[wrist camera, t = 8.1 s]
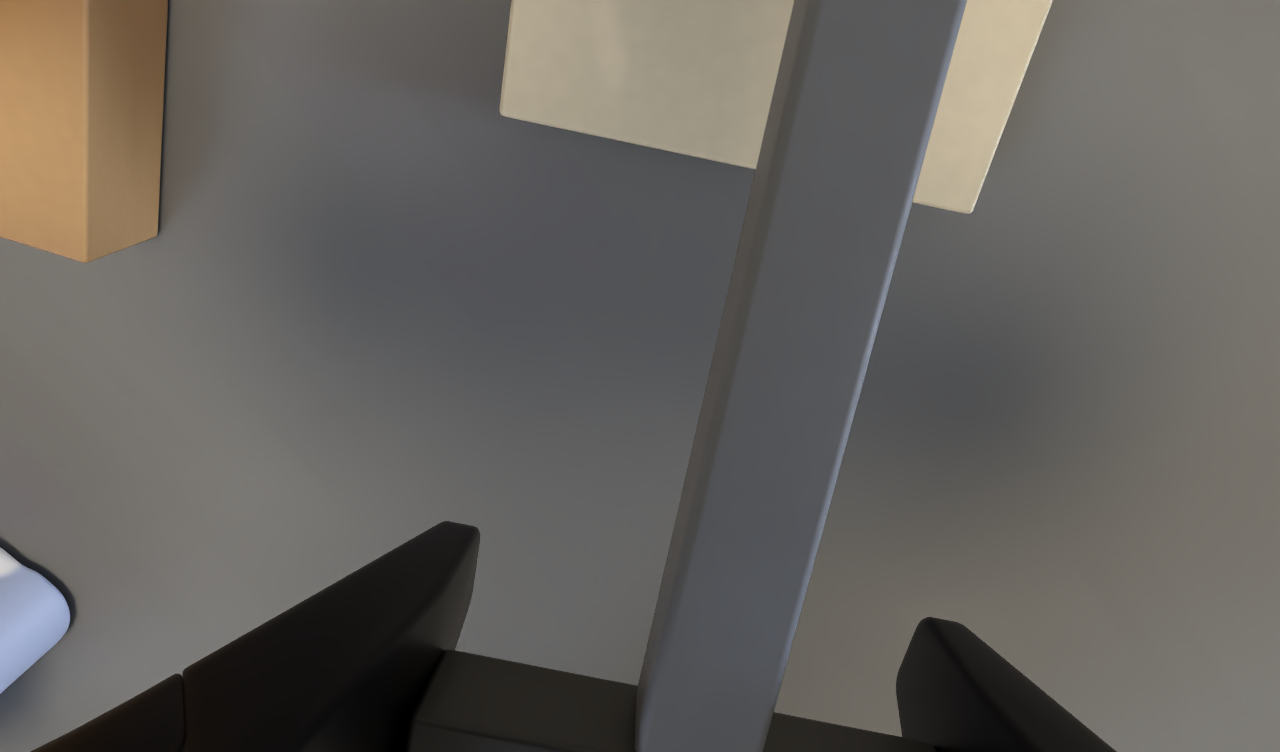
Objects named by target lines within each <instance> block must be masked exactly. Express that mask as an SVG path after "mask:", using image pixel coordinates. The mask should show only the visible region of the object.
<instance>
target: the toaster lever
mask: <svg viewBox="0 0 1280 752" xmlns="http://www.w3.org/2000/svg"><path fill="white" fill-rule="evenodd" d="M966 3H967V0H794V4H793V8H792V13H791V17H790V22H789V26H788V30H787V35H786V39H785V43H784V48H783V52H782V57H781V61H780V65H779V70H778V74H777V79H776V83H775V87H774V92H773V96H772V100H771V105H770V109H769V114H768V118H767V122H766V127H765V131H764V136H763V140H762V144H761V149H760V153H759V157H758V162H757V166H756V171H755V175H754V179H753V184H752V188H751V193H750V197H749V201H748V206H747V210H746V214H745V219H744V223H743V228H742V232H741V236H740V241H739V245H738V250H737V254H736V258H735V263H734V267H733V271H732V276H731V280H730V285H729V289H728V293H727V298H726V302H725V307H724V311H723V315H722V320H721V324H720V328H719V333H718V337H717V342H716V346H715V350H714V355H713V359H712V364H711V368H710V372H709V377H708V381H707V385H706V390H705V394H704V399H703V403H702V407H701V412H700V416H699V421H698V425H697V429H696V434H695V438H694V442H693V447H692V451H691V456H690V460H689V464H688V469H687V473H686V478H685V482H684V486H683V491H682V495H681V499H680V504H679V508H678V513H677V517H676V521H675V526H674V530H673V535H672V539H671V543H670V548H669V552H668V556H667V561H666V565H665V570H664V574H663V578H662V583H661V587H660V592H659V596H658V600H657V605H656V609H655V613H654V618H653V622H652V627H651V631H650V635H649V640H648V644H647V649H646V653H645V657H644V662H643V666H642V670H641V675H640V679H639V684H638V686H635V685H630V684H625V683H620V682H615V681H610V680H605V679H599V678H594V677H589V676H584V675H579V674H574V673H569V672H563V671H558V670H553V669H548V668H543V667H538V666H532V665H527V664H522V663H517V662H512V661H507V660H502V659H496V658H491V657H486V656H481V655H476V654H471V653H466V652H460V651H455V650H445V651H444V652H443V654H442V656H441V658H440V660H439V662H438V664H437V666H436V668H435V670H434V672H433V673H432V675H431V677H430V679H429V681H428V683H427V685H426V688H425V690H424V692H423V694H422V696H421V698H420V700H419V702H418V704H417V706H416V708H415V710H414V712H413V714H412V716H411V718H410V724H409V730H408V736H407V743H406V749H405V752H937V751H936V749H935V747H934V746H933V745H932V744H930V743H928V742H924V741H919V740H914V739H908V738H903V737H898V736H893V735H888V734H883V733H877V732H872V731H867V730H862V729H857V728H852V727H847V726H841V725H836V724H831V723H826V722H821V721H816V720H811V719H805V718H800V717H795V716H790V715H785V714H780V713H774V708H775V705H776V701H777V697H778V694H779V690H780V686H781V683H782V679H783V675H784V672H785V668H786V664H787V661H788V657H789V653H790V650H791V646H792V642H793V639H794V635H795V631H796V628H797V624H798V620H799V617H800V613H801V609H802V606H803V602H804V598H805V595H806V591H807V587H808V583H809V580H810V576H811V572H812V569H813V565H814V561H815V558H816V554H817V550H818V547H819V543H820V539H821V536H822V532H823V528H824V525H825V521H826V517H827V514H828V510H829V506H830V503H831V499H832V495H833V492H834V488H835V484H836V481H837V477H838V473H839V470H840V466H841V462H842V459H843V455H844V451H845V448H846V444H847V440H848V436H849V433H850V429H851V425H852V422H853V418H854V414H855V411H856V407H857V403H858V400H859V396H860V392H861V389H862V385H863V381H864V378H865V374H866V370H867V367H868V363H869V359H870V356H871V352H872V348H873V345H874V341H875V337H876V334H877V330H878V326H879V323H880V319H881V315H882V312H883V308H884V304H885V301H886V297H887V293H888V290H889V286H890V282H891V278H892V275H893V271H894V267H895V264H896V260H897V256H898V253H899V249H900V245H901V242H902V238H903V234H904V231H905V227H906V223H907V220H908V216H909V212H910V209H911V205H912V201H913V198H914V194H915V190H916V187H917V183H918V179H919V176H920V172H921V168H922V165H923V161H924V157H925V154H926V150H927V146H928V143H929V139H930V135H931V131H932V128H933V124H934V120H935V117H936V113H937V109H938V106H939V102H940V98H941V95H942V91H943V87H944V84H945V80H946V76H947V73H948V69H949V65H950V62H951V58H952V54H953V51H954V47H955V43H956V40H957V36H958V32H959V29H960V25H961V21H962V18H963V14H964V10H965V7H966Z"/></svg>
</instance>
